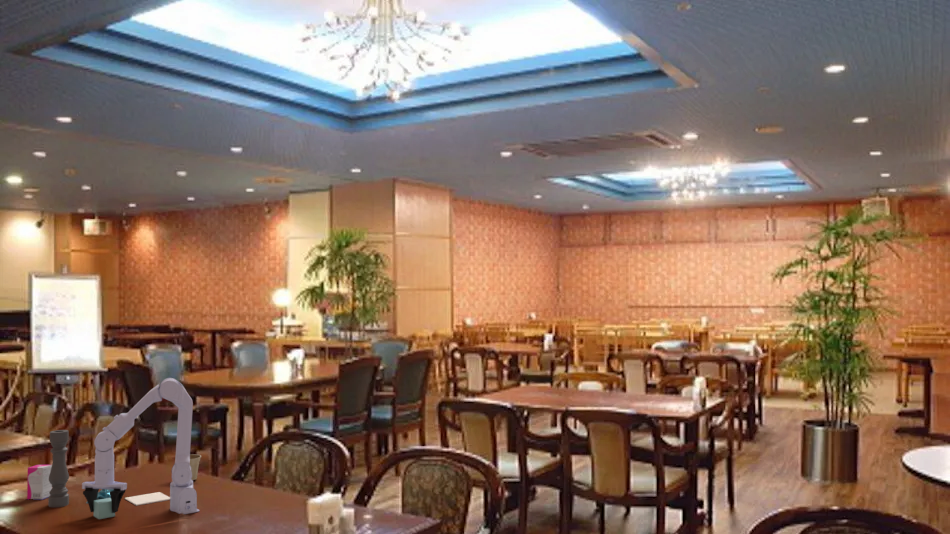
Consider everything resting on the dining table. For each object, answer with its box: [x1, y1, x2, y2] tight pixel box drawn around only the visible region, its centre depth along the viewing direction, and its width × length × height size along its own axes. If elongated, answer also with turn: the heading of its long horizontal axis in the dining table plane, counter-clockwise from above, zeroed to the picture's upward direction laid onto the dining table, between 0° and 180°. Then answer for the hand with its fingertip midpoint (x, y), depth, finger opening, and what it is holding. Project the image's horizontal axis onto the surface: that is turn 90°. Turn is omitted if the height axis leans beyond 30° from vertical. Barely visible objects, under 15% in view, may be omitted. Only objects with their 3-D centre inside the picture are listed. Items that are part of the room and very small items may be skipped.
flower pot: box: [190, 453, 202, 481], centre depth 307 cm, size 9×9×9 cm
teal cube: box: [93, 498, 116, 520], centre depth 257 cm, size 5×5×5 cm
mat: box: [124, 491, 170, 507], centre depth 277 cm, size 12×12×1 cm
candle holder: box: [47, 429, 70, 508], centre depth 270 cm, size 6×6×25 cm
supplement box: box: [26, 464, 52, 501], centre depth 279 cm, size 6×6×12 cm
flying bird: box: [85, 489, 114, 504], centre depth 279 cm, size 15×7×4 cm, turn 165°
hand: (104, 511), depth 257 cm, fingers closed on teal cube, 7 cm apart
